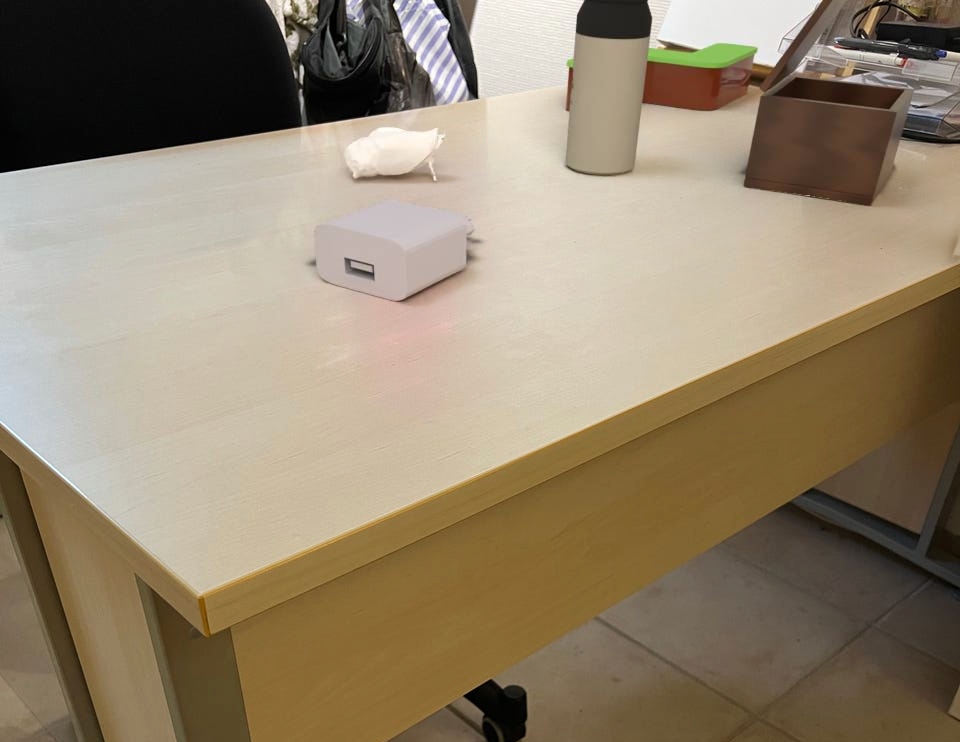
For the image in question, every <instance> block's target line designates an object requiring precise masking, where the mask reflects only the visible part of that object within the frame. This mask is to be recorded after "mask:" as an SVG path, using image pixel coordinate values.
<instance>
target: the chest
mask: <svg viewBox="0 0 960 742" xmlns="http://www.w3.org/2000/svg"><path fill="white" fill-rule="evenodd" d="M914 92H915V88H908V87H899V86H891V85H890V86H889V85H883V84H881V85H880V84H872V83H864V82H863V83H862V82H854V81H845V80H837V79H829V78H828V79H826V78H820V77H811V76H802V75H801V76H800V75H792V74H790V75H789V76H787V77H786V78H785V79H783V80H782V81H780V82H779V83H778V84H776V85H775V86H773V87H772V88H771V89H769V90H768V91H766V92H765V93H764V92H763V94H761V95H760V97H759V102H758V107H757V113H756V119H755V124H754V129H753V134H752V139H751V143H750V144H751V145H750V149H749V154H748V158H747V159H748V160H747V165H746V169H745V174H744V180H743V187H744V186H745V188H750V187H751V189H757V188H759V189H758V190H763V189H765V190H764V191H770V190H774V191H773V192H776V191H781V192H780V193H783V192H787V193H786V194H789V193H796V194H801V195H800V196H802V195H810V196H815V197H822V198H829V199H834V200H833V201H835V200H841V201H846V202H845V203H848V202H852V203H851V204H854V203H858V204H857V205H861V204H864V205H863V206H867V205H869V207H870V206H872V205H873V204H874V201H875V200H876V198H878V195H879V194H880V192H881V190H882V189H883V188H884V186H885V185H886V183H887V181H888V179H889V178H890V176H891V173H892V169H893V166H894V162H895V159H896V156H897V153H898V148H899V145H900V141H901V138H902V135H903V132H904V127H905V124H906V120H907V117H908V114H909V110H910V106H911V103H912V100H913V96H914ZM796 194H795V195H796ZM815 197H814V198H815ZM822 198H821V199H822ZM841 201H840V202H841Z"/></svg>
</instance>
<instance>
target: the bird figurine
mask: <svg viewBox="0 0 960 742" xmlns="http://www.w3.org/2000/svg"><path fill="white" fill-rule="evenodd" d="M438 133H439V128H438V127H434V128H433V129H430V130H425V131H419V130H418V131H417V130H406V129H402V128H400V127H392V126H381V127H378V128H375V129H374V130H373V131H371V132H370V133H369V135H368V136H362V137H361V138H359V139H356V140H354V141H353V142H350V144H349V145H347V146H346V147H345V149H344V153H343V158H344V161H345V164H346V168H347V169H348V172H350V173H352V177H353V179H355V180H356V179H358V178H360V177H368V178H373V177H377V176H379V175H381V176H400V175H403V174H408V173H410V172H412V171H413V170H417V169H420V168H422V167H424V166H425V165H426V164H427V166H428V172H429V174H430V175H431V177H432V179H433V181H434V182H437V177H436V175H435V166H434V164H433V163H434V161H435V158H434V156H435V155H436V153H437V152H438V150H439V149H440V147H441V146H442V144H443V142H444V141H445V136H446V131H444V132H443V133H440V134H438Z"/></svg>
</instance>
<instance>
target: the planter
mask: <svg viewBox="0 0 960 742" xmlns="http://www.w3.org/2000/svg"><path fill="white" fill-rule="evenodd" d="M757 53H758V47H757V46H753V45H752V46H751V45H743V44H734V43H726V42H717V43H714V44H712V45H708V46H706V47H704V48H701V49H699V50H696V51H694V52H689V51H688V52H686V51H678V50H670V49H662V48H655V47H649V50H648V58H647V67H646V75H645V83H644V91H643V100H642V104H644V103H645V104H650V105H658V106H665V107H673V108H677V109H678V108H679V109H687V110H692V111H705V112H706V111H707V112H708V111H715V110H716V111H717V110H718V109H721V108H722V107H724V106H726V105H728V104H730V103H732V102H734V101H735V100H737V99H738V98H740V97H742V96H745V95H746V94H748V91H749V87H750V81H751V75H752V71H753V65H754V60H755V59H754V58H755V54H757ZM573 59H574V57H573V58H570V59H568V60H566V67H568V75H567V87H566V101H565V110H566V111H567V112H569V111H570V98H571V85H572V72H573Z"/></svg>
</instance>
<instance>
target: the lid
mask: <svg viewBox="0 0 960 742" xmlns="http://www.w3.org/2000/svg"><path fill="white" fill-rule="evenodd" d="M847 1H848V0H821V1H820V3H819V5H818V6H817V7H816V9H815V10H814V11H813V13H812V14H811V15H810V17H809V18H808V19H807V21H806V22H805V24H804V25H803V27H802V28H801V29H800V31H799V32H798V33H797V35H796V36H795V37H794V39H793V40H792V42H791V43H790V44H789V45H788V47H787V48H786V50H785V52H784V53H783V54H782V55H781V57H780V58H779V60H778V61H777V62H776V64H774V66H773V68H772V69H771V71H770V72H769V73H768V75H767V76H766V78H765V79H764V80H763V82H762V83H761V84H760V86H758V87H759V90H761V91H762V92H763V94H764V93H766V92H767V91H768V90H770V89H771V88H772V87H774V86H775V85H777V84H778V83H779V82H781V81H782V80H784V79H785V78H786V77H788V76H789V75H792V74H793V73H794V72H795V71H796V69H797V68H798V67H799V65H800V64H801V63H802V61H803V60H804V59H805V57H806V56H807V55H808V53H809V52H810V50H811V49H812V48H813V46H814V45H815V44H816V43H817V41H818V40H819V39H820V37H822V35H823V34H824V32H825V30H826V29H827V28H828V27H829V25H830V24H831V22H832V21H833V19H834V18H836V16H837V14H838V13H839V12H840V10H841V9H842V8H843V6H844V5H845V3H846V2H847Z"/></svg>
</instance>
